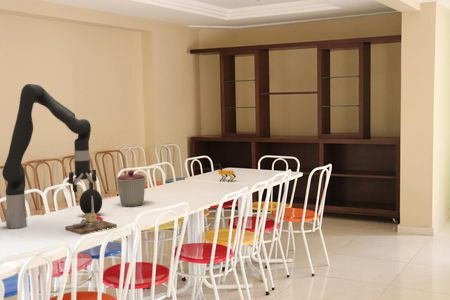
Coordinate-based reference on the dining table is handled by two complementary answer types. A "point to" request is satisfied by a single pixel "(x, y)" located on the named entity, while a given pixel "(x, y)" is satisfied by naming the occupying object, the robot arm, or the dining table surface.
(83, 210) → the decorative egg
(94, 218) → the coupler
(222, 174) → the robot dog
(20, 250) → the dining table surface
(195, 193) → the dining table surface
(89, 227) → the shaft rig
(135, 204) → the canister
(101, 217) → the grey red upright piece
